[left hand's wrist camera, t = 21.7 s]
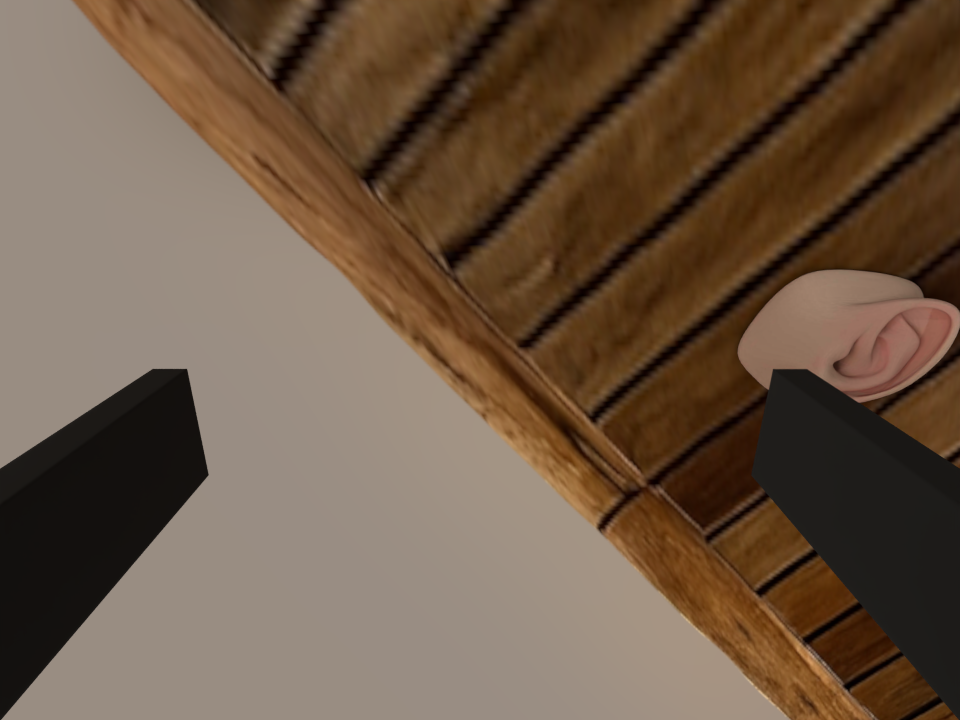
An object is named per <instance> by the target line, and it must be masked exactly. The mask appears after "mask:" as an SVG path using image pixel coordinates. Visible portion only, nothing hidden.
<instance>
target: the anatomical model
mask: <svg viewBox="0 0 960 720" xmlns="http://www.w3.org/2000/svg"><path fill="white" fill-rule="evenodd" d="M959 328H960V312H959V310H958V309H957V308H956V307H955V306H954V305H952V304H950V303H948V302H945V301H941V300H937V299H930V298H924V297H923V293H922V291H921V289H920V288H919V287H918V286H917V285H916V284H915V283H913V282H911V281H909V280H906V279H903V278H900V277H896V276H892V275H887V274H881V273H875V272H867V271H856V270H823V271H816V272H812V273H808V274H806V275H803V276H801V277H799V278H797V279H795V280H794V281H792V282H791V283H789V284H788V285H786V286H785V287H784V288H783V289H781V290H780V291H779V292H778V293H777V294H776V295H775V296H774V297H773V298H772V299H771V300H770V301H769V302H768V303H767V304H766V305H765V306H764V308H763V309H762V310H761V311H760V312H759V313H758V315H757V316H756V317H755V319H754V320H753V321H752V323H751V324H750V325H749V327H748V329H747V330H746V332H745V333H744V335H743V337H742V339H741V341H740V343H739V346H738V357H739V359H740V361H741V363H742V364H743V366H744V367H745V368H746V370H747V371H748V372H749V373H750V374H751V375H752V376H753V377H754V378H755V379H756V380H757V381H758V382H759V383H760V384H762V385H763V386H764V387H765V388H767V389H768V390H769V386H770V381H771V376H772V371H773V369H808V370H809V371H811V372H812V373H814V374H816V375H817V376H819V377H820V378H822V379H823V380H825V381H826V382H828V383H829V384H831V385H832V386H834V387H835V388H837V389H838V390H840V391H842V392H843V393H845V394H846V395H848V396H849V397H851V398H852V399H854V400H855V401H857V402H858V403H861V402H865V401H869V400H873V399H877V398H881V397H884V396H887V395H890V394H892V393H895V392H897V391H899V390H901V389H903V388H905V387H907V386H908V385H910V384H912V383H913V382H914V381H916V380H917V379H919V378H920V377H922V376H923V375H924V374H925V373H927V372H928V371H929V370H930V369H931V368H932V367H933V366H935V365H936V364H937V363H938V362H939V360H940V359H941V358H942V357H943V356H944V355H945V353H946V352H947V351H948V349H949V348H950V346H951V345H952V343H953V341H954V339H955V338H956V336H957V333H958V331H959Z"/></svg>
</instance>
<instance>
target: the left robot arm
mask: <svg viewBox="0 0 960 720" xmlns="http://www.w3.org/2000/svg"><path fill="white" fill-rule="evenodd" d="M207 476H208V470H207V465H206V460H205V455H204V450H203V445H202V440H201V435H200V430H199V425H198V420H197V416H196V411H195V406H194V401H193V396H192V391H191V386H190V381H189V376H188V371H187V369H152V370H151V371H149V372H148V373H146V374H144V375H143V376H141V377H140V378H138V379H137V380H135V381H134V382H132V383H131V384H129V385H128V386H126V387H125V388H123V389H122V390H120V391H118V392H117V393H115V394H114V395H112V396H111V397H109V398H108V399H106V400H105V401H103V402H102V403H100V404H99V405H97V406H95V407H94V408H92V409H91V410H89V411H88V412H86V413H85V414H83V415H82V416H80V417H79V418H77V419H76V420H74V421H73V422H71V423H70V424H68V425H66V426H65V427H63V428H62V429H60V430H59V431H57V432H56V433H54V434H53V435H51V436H50V437H48V438H47V439H45V440H43V441H42V442H40V443H39V444H37V445H36V446H34V447H33V448H31V449H30V450H28V451H27V452H25V453H24V454H22V455H21V456H19V457H17V458H16V459H14V460H13V461H11V462H10V463H8V464H7V465H5V466H4V467H2V468H1V469H0V720H1V719H2V718H3V717H4V716H5V714H6V713H7V712H8V711H9V710H10V709H11V707H12V706H13V705H14V704H15V703H16V702H17V700H18V699H19V698H20V697H21V696H22V694H23V693H24V692H25V691H26V690H27V688H28V687H29V686H30V685H31V684H32V683H33V681H34V680H35V679H36V678H37V677H38V675H39V674H40V673H41V672H42V671H43V670H44V668H45V667H46V666H47V665H48V664H49V663H50V661H51V660H52V659H53V658H54V657H55V656H56V654H57V653H58V652H59V651H60V650H61V648H62V647H63V646H64V645H65V644H66V643H67V641H68V640H69V639H70V638H71V637H72V636H73V634H74V633H75V632H76V631H77V630H78V628H79V627H80V626H81V625H82V624H83V623H84V621H85V620H86V619H87V618H88V617H89V615H90V614H91V613H92V612H93V611H94V610H95V608H96V607H97V606H98V605H99V604H100V602H101V601H102V600H103V599H104V598H105V597H106V595H107V594H108V593H109V592H110V591H111V590H112V588H113V587H114V586H115V585H116V584H117V582H118V581H119V580H120V579H121V578H122V577H123V575H124V574H125V573H126V572H127V571H128V569H129V568H130V567H131V566H132V565H133V564H134V562H135V561H136V560H137V559H138V558H139V556H140V555H141V554H142V553H143V552H144V551H145V549H146V548H147V547H148V546H149V545H150V544H151V542H152V541H153V540H154V539H155V538H156V536H157V535H158V534H159V533H160V532H161V531H162V529H163V528H164V527H165V526H166V525H167V524H168V522H169V521H170V520H171V519H172V518H173V516H174V515H175V514H176V513H177V512H178V511H179V509H180V508H181V507H182V506H183V505H184V503H185V502H186V501H187V500H188V499H189V498H190V496H191V495H192V494H193V493H194V492H195V490H196V489H197V488H198V487H199V486H200V485H201V483H202V482H203V481H204V480H205V479H206V477H207ZM752 476H753V478H754V479H755V480H756V481H757V482H758V483H759V485H760V486H761V487H762V488H763V489H764V491H765V492H766V493H767V494H768V495H769V496H770V498H771V499H772V500H773V501H774V502H775V504H776V505H777V506H778V507H779V508H780V509H781V511H782V512H783V513H784V514H785V515H786V516H787V518H788V519H789V520H790V521H791V522H792V524H793V525H794V526H795V527H796V528H797V529H798V531H799V532H800V533H801V534H802V535H803V537H804V538H805V539H806V540H807V541H808V542H809V544H810V545H811V546H812V547H813V548H814V549H815V551H816V552H817V553H818V554H819V555H820V557H821V558H822V559H823V560H824V561H825V562H826V564H827V565H828V566H829V567H830V568H831V570H832V571H833V572H834V573H835V574H836V575H837V577H838V578H839V579H840V580H841V581H842V582H843V584H844V585H845V586H846V587H847V588H848V590H849V591H850V592H851V593H852V594H853V595H854V597H855V598H856V599H857V600H858V601H859V603H860V604H861V605H862V606H863V607H864V608H865V610H866V611H867V612H868V613H869V614H870V615H871V617H872V618H873V619H874V620H875V621H876V623H877V624H878V625H879V626H880V627H881V628H882V630H883V631H884V632H885V633H886V634H887V636H888V637H889V638H890V639H891V640H892V641H893V643H894V644H895V645H896V646H897V647H898V648H899V650H900V651H901V652H902V653H903V654H904V656H905V657H906V658H907V659H908V660H909V661H910V663H911V664H912V665H913V666H914V667H915V669H916V670H917V671H918V672H919V673H920V674H921V676H922V677H923V678H924V679H925V680H926V681H927V683H928V684H929V685H930V686H931V687H932V689H933V690H934V691H935V692H936V693H937V694H938V696H939V697H940V698H941V699H942V700H943V702H944V703H945V704H946V705H947V706H948V707H949V709H950V710H951V711H952V712H953V713H954V714H955V716H956V717H957V718H958V719H959V720H960V469H959V468H958V467H956V466H955V465H953V464H952V463H950V462H949V461H947V460H946V459H944V458H943V457H941V456H939V455H938V454H936V453H935V452H933V451H932V450H930V449H929V448H927V447H926V446H924V445H923V444H921V443H920V442H918V441H917V440H915V439H913V438H912V437H910V436H909V435H907V434H906V433H904V432H903V431H901V430H900V429H898V428H897V427H895V426H894V425H892V424H891V423H889V422H887V421H886V420H884V419H883V418H881V417H880V416H878V415H877V414H875V413H874V412H872V411H871V410H869V409H868V408H866V407H865V406H863V405H861V404H860V403H858V402H857V401H855V400H854V399H852V398H851V397H849V396H848V395H846V394H845V393H843V392H842V391H840V390H838V389H837V388H835V387H834V386H832V385H831V384H829V383H828V382H826V381H825V380H823V379H822V378H820V377H819V376H817V375H816V374H814V373H812V372H811V371H809V370H808V369H773V371H772V376H771V381H770V386H769V391H768V396H767V401H766V406H765V411H764V416H763V420H762V425H761V430H760V435H759V440H758V445H757V450H756V455H755V460H754V465H753V470H752Z"/></svg>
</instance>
